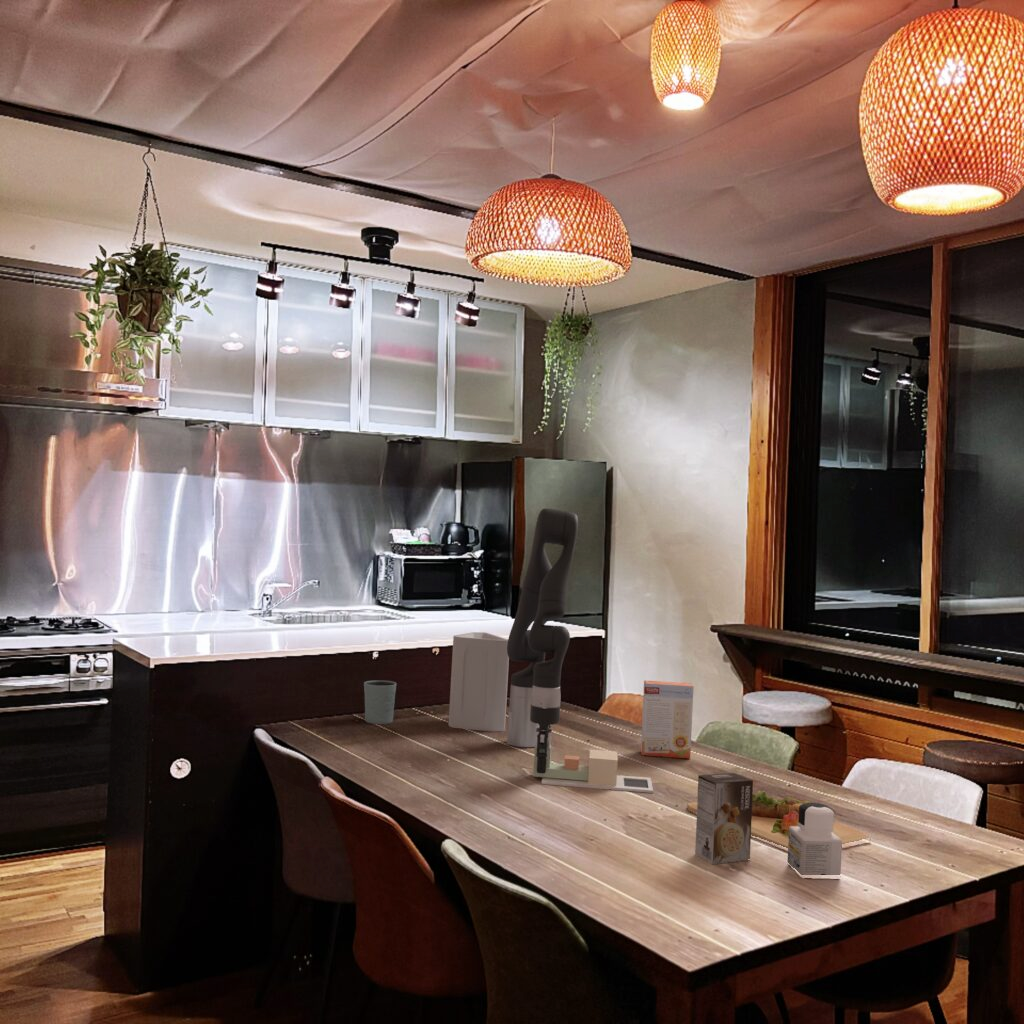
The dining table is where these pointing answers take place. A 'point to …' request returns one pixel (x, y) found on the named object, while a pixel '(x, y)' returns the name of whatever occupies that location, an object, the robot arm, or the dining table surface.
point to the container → (815, 842)
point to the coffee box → (724, 818)
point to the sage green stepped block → (562, 768)
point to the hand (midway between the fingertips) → (542, 769)
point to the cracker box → (667, 719)
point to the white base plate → (605, 775)
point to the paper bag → (479, 682)
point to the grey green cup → (379, 701)
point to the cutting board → (783, 820)
